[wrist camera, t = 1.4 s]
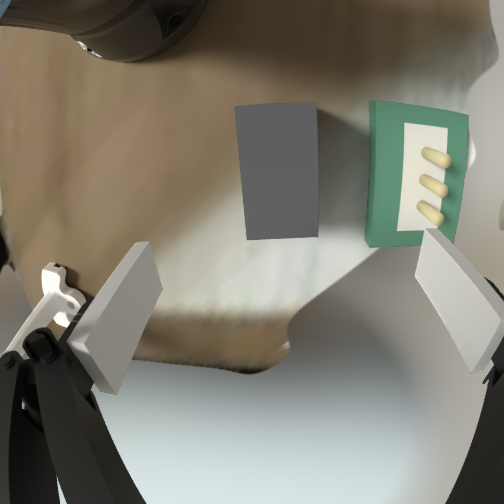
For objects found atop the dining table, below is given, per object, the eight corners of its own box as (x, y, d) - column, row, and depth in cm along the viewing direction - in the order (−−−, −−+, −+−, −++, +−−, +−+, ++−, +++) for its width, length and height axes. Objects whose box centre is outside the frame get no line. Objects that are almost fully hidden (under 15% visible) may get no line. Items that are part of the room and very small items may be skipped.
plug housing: (242, 106, 27) (234, 106, 20) (303, 103, 26) (316, 102, 19) (251, 207, 32) (246, 240, 25) (306, 205, 31) (318, 236, 24)
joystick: (45, 260, 37) (-34, 345, 19) (82, 270, 37) (4, 370, 20) (57, 314, 42) (1, 398, 24) (92, 325, 42) (39, 421, 25)
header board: (369, 100, 25) (392, 101, 20) (458, 113, 25) (490, 119, 19) (364, 239, 33) (380, 266, 28) (445, 236, 32) (469, 259, 27)
